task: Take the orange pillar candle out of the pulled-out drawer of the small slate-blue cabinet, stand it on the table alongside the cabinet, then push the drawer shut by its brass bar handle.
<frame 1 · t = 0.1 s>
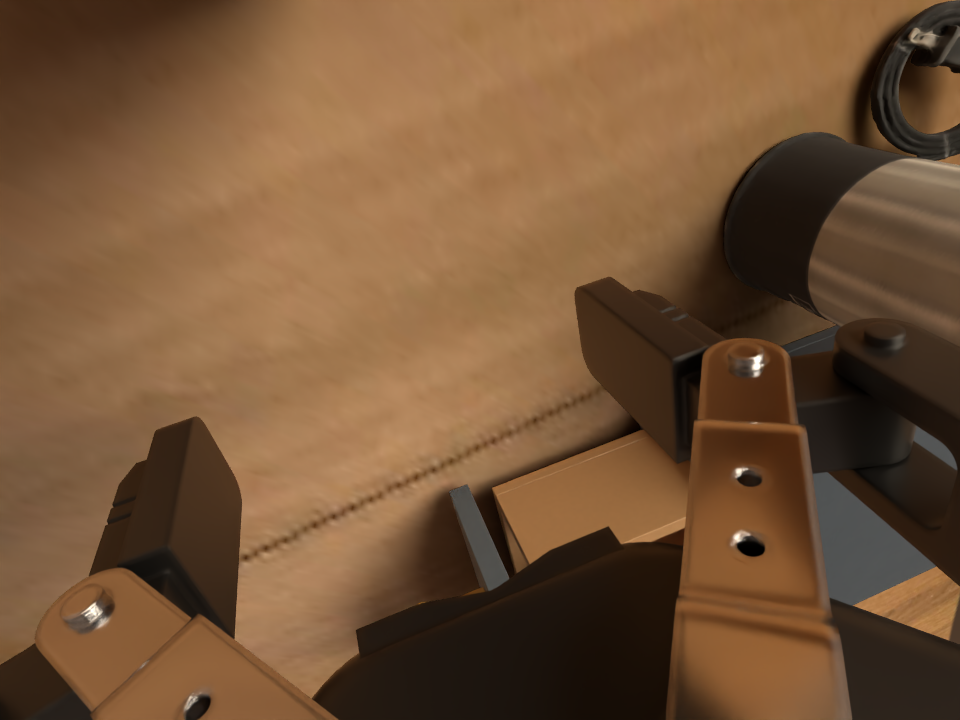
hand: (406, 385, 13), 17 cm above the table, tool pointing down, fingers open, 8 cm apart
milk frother: (836, 155, 34), on the table
drawer: (582, 573, 37), point 5 cm above the table, slide at 12.0 cm, touching candle
cabinet: (752, 439, 43), on the table
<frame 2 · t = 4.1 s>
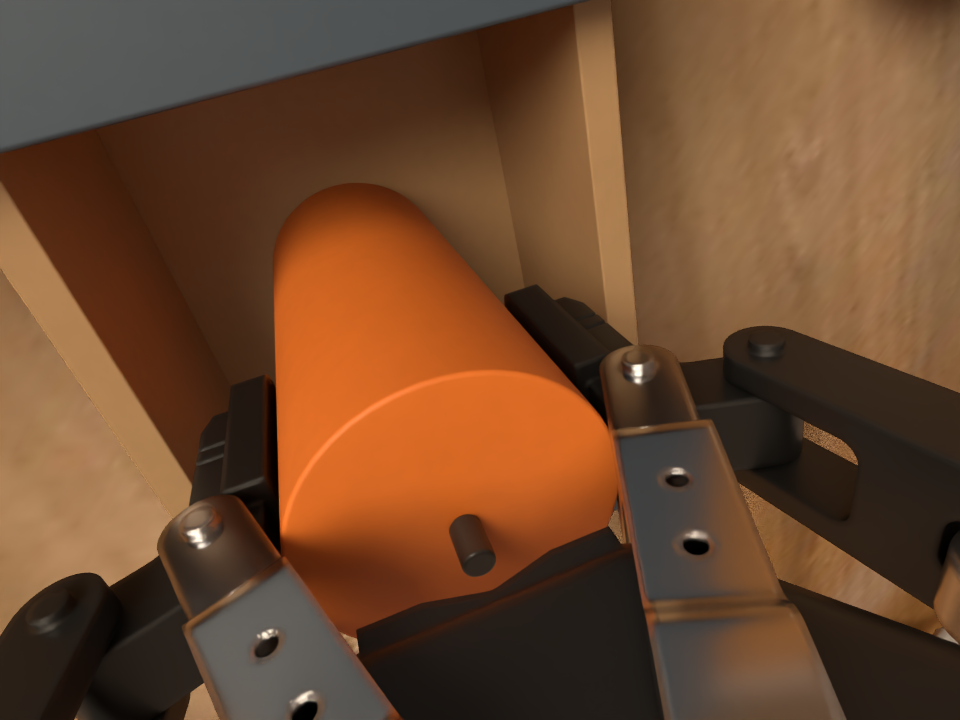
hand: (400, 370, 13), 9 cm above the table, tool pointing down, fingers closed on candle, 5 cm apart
drawer: (384, 332, 17), point 5 cm above the table, slide at 12.0 cm, touching candle
candle: (359, 266, 19), point 2 cm above the table, touching drawer, gripper
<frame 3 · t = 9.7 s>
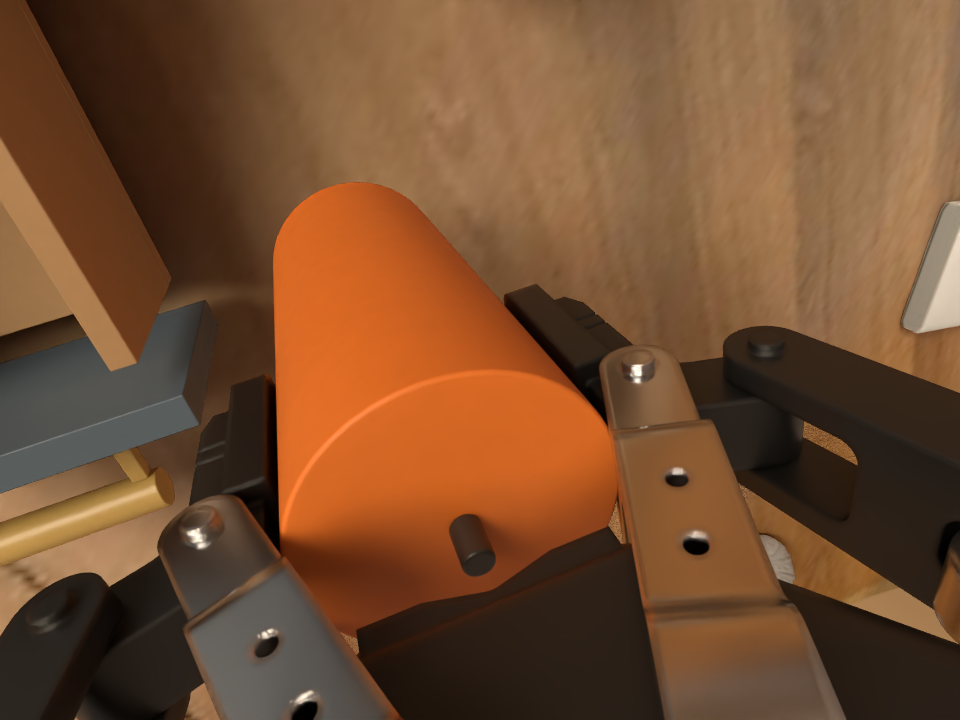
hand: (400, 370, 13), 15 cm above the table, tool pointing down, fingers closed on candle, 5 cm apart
seahorse: (665, 601, 46), on the table
candle: (359, 265, 19), point 8 cm above the table, touching gripper
when the fingers open (7 cm above the table, at t = 12.3 s): candle stays where it is, on the table.
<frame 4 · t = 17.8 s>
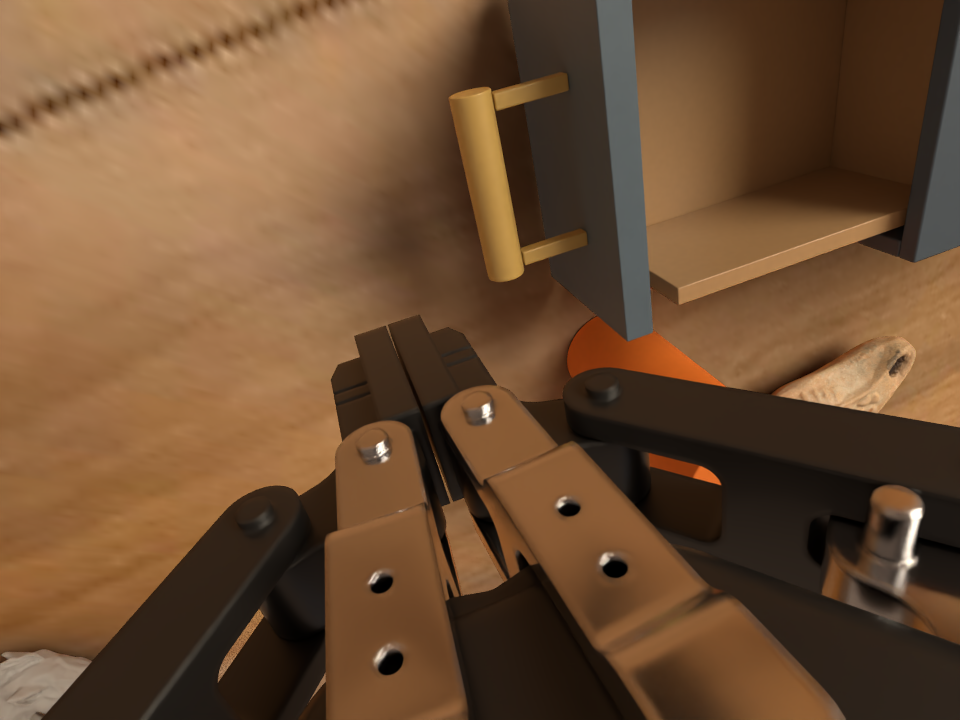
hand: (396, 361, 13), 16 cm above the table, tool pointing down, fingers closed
drawer: (698, 118, 25), point 5 cm above the table, slide at 12.0 cm
pottery oil lamp: (797, 391, 42), on the table
cabinet: (911, 25, 31), on the table
candle: (607, 351, 35), on the table
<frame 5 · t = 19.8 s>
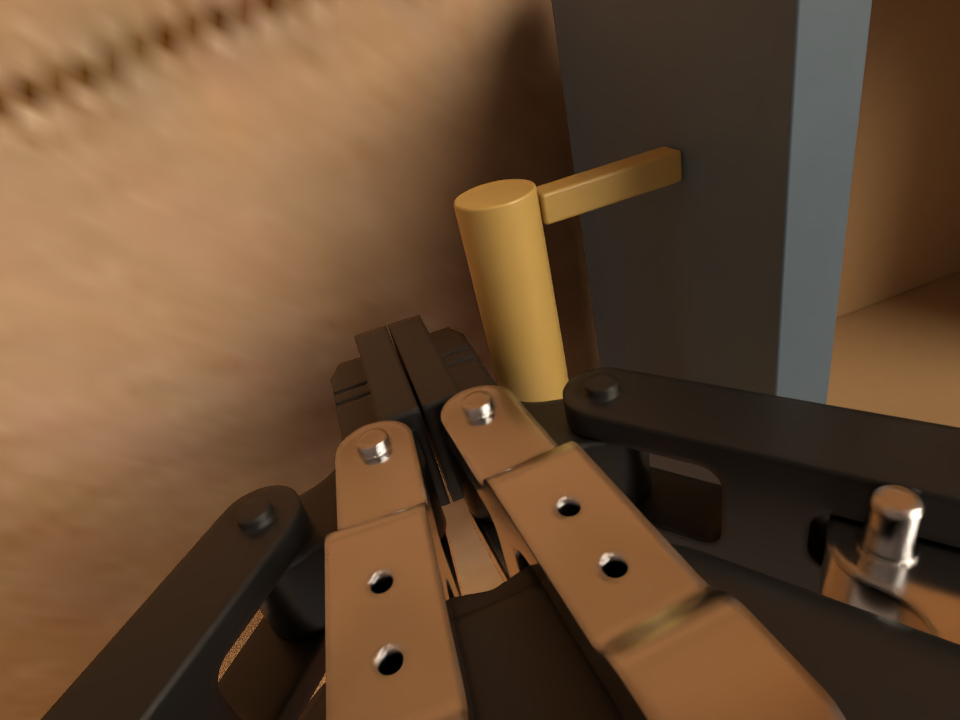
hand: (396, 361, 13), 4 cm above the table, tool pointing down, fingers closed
drawer: (876, 207, 15), point 5 cm above the table, slide at 11.5 cm, touching gripper
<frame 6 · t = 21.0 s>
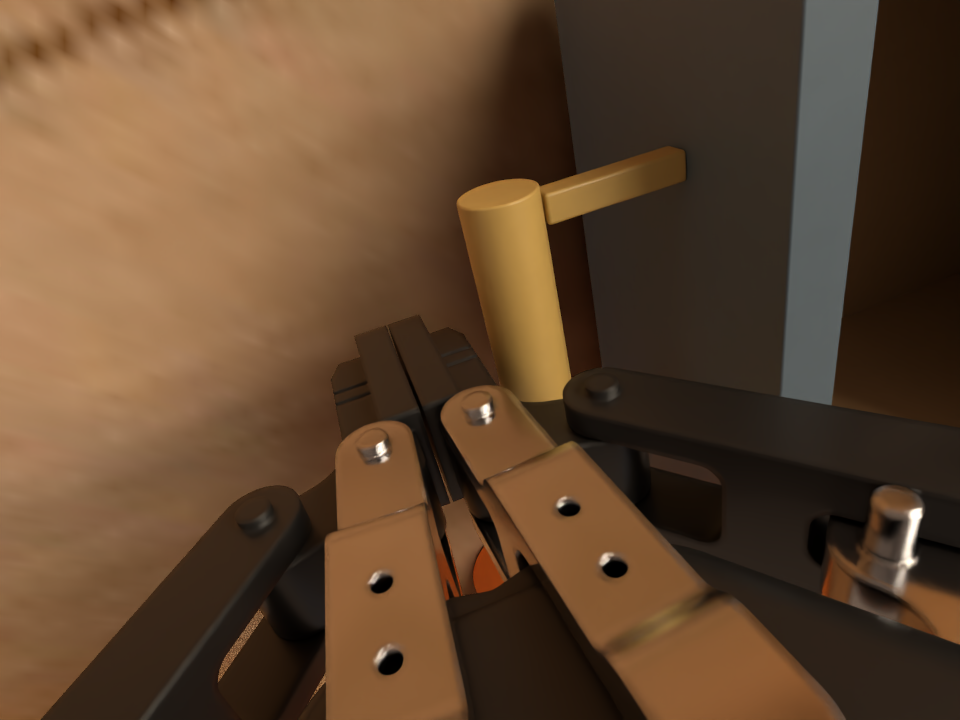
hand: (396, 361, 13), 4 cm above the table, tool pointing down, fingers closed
drawer: (880, 207, 15), point 5 cm above the table, slide at 5.5 cm, touching gripper
candle: (534, 560, 24), on the table
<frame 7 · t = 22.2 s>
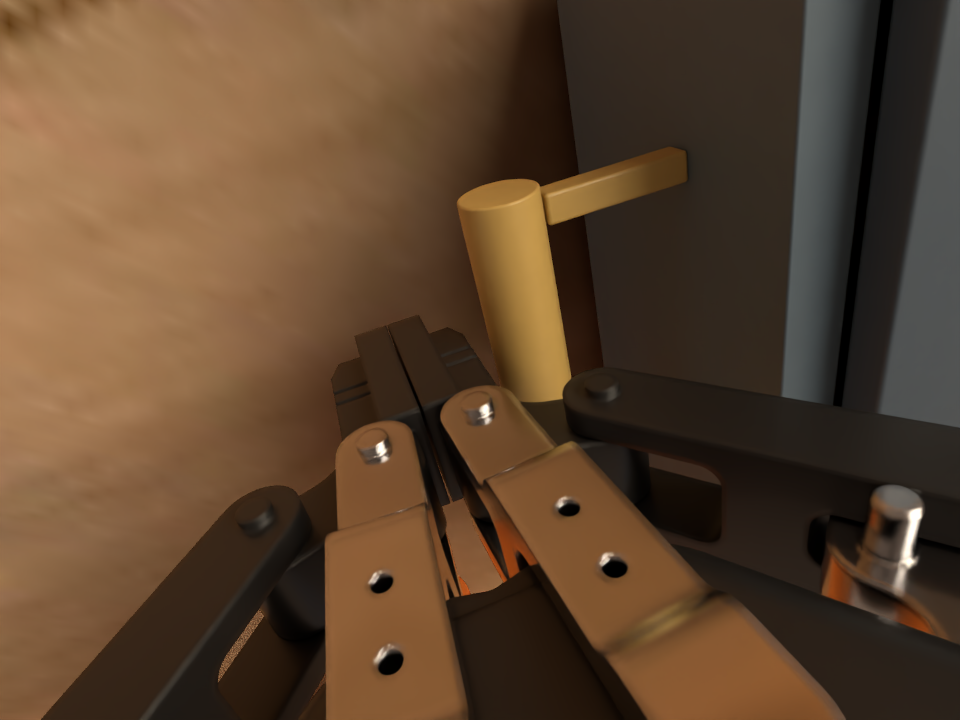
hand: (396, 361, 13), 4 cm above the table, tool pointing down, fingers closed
drawer: (884, 209, 15), point 5 cm above the table, slide at 0.0 cm, touching cabinet, gripper
cabinet: (859, 136, 19), on the table
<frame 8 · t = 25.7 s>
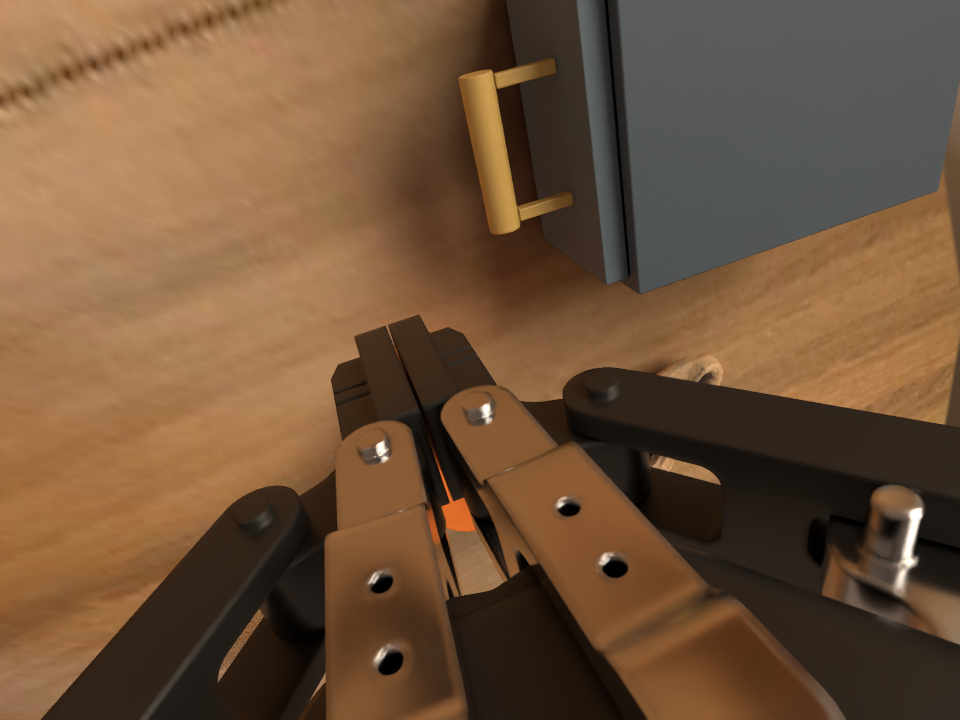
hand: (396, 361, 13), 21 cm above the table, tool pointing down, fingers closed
drawer: (666, 99, 30), point 5 cm above the table, slide at 0.0 cm
pottery oil lamp: (629, 405, 45), on the table
cabinet: (680, 73, 34), on the table
candle: (423, 369, 38), on the table
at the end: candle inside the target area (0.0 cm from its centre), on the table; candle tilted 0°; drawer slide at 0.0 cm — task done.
